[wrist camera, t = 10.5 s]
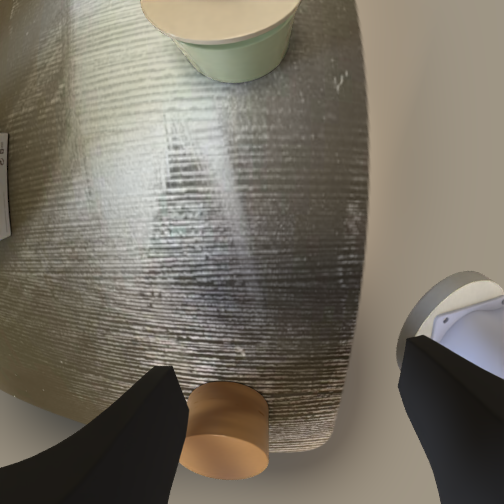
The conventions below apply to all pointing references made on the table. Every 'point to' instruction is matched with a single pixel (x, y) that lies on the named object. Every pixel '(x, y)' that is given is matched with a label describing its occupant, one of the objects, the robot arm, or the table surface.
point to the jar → (240, 55)
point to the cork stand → (226, 431)
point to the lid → (217, 18)
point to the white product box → (4, 189)
